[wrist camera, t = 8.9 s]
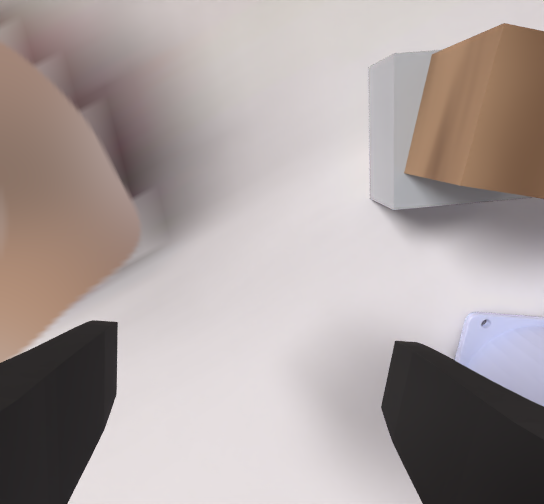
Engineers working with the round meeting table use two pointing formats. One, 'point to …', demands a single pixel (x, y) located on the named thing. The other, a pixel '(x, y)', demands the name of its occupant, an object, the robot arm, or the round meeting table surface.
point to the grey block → (406, 138)
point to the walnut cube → (484, 114)
